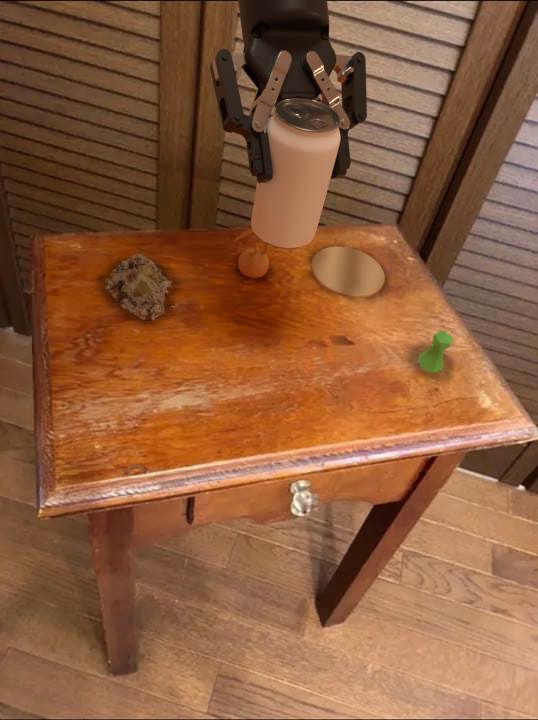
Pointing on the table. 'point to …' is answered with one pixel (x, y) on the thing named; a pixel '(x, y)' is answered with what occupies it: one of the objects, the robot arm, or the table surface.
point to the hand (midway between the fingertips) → (302, 178)
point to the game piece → (435, 352)
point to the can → (296, 172)
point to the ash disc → (347, 272)
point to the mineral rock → (140, 287)
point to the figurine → (253, 258)
